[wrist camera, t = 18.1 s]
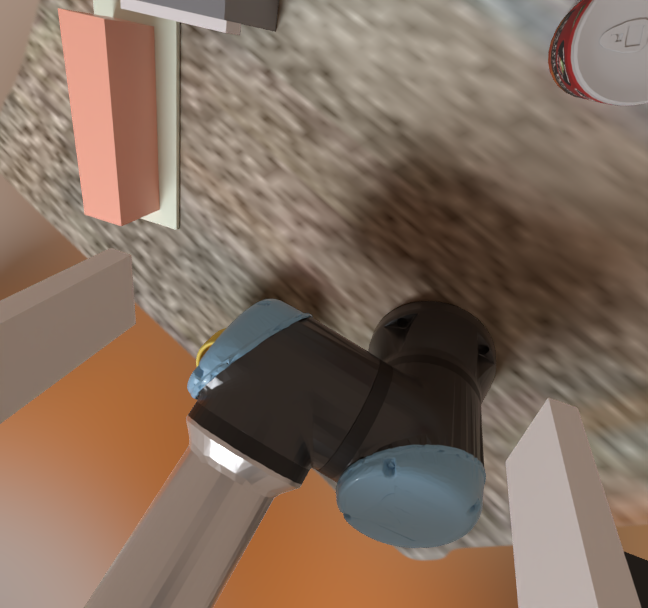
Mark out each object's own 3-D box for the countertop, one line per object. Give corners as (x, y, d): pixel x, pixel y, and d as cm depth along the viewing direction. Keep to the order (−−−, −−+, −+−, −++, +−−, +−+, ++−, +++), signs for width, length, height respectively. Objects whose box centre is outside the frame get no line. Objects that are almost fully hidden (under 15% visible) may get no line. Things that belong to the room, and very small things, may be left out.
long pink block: (159, 209, 53) (121, 226, 48) (126, 199, 54) (84, 214, 48) (154, 26, 43) (104, 18, 37) (113, 17, 44) (57, 8, 38)
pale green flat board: (179, 228, 55) (176, 229, 54) (114, 207, 56) (111, 208, 56) (179, 9, 42) (176, 9, 42) (96, -10, 44) (92, -11, 43)
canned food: (539, 16, 34) (564, -5, 25) (659, -35, 31) (739, -81, 21) (553, 113, 37) (580, 125, 28) (664, 75, 33) (737, 76, 24)
